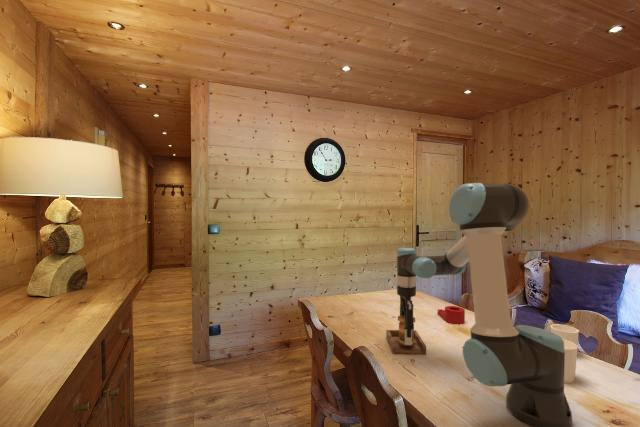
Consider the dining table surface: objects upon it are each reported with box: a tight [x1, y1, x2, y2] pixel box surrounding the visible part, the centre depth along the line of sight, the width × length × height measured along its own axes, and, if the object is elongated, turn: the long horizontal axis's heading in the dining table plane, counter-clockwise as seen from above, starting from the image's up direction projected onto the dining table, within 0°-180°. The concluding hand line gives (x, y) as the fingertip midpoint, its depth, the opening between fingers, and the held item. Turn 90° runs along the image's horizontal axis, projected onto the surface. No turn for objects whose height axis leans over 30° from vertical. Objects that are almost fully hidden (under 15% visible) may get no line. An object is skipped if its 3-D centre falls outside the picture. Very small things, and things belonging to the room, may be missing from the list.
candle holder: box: [562, 339, 579, 384], centre depth 109 cm, size 10×10×12 cm
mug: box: [549, 323, 580, 347], centre depth 127 cm, size 11×9×10 cm
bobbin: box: [397, 314, 416, 345], centre depth 132 cm, size 7×7×10 cm
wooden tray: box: [385, 329, 427, 356], centre depth 134 cm, size 16×13×4 cm
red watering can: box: [437, 305, 466, 326], centre depth 167 cm, size 18×9×7 cm, turn 14°
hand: (406, 340), depth 132 cm, fingers closed on bobbin, 7 cm apart
